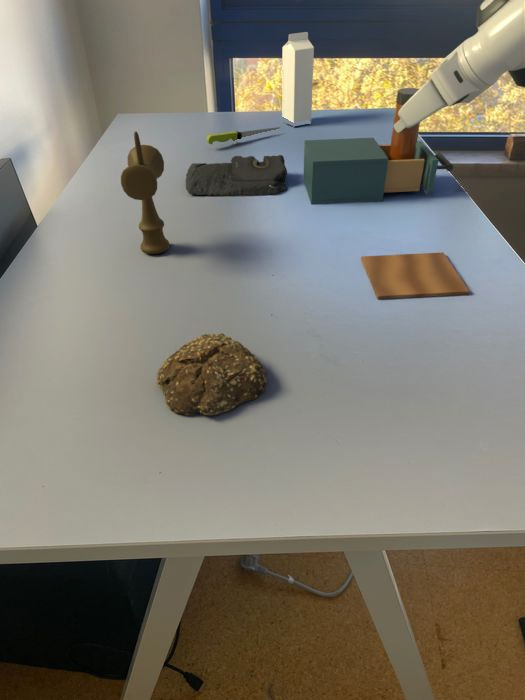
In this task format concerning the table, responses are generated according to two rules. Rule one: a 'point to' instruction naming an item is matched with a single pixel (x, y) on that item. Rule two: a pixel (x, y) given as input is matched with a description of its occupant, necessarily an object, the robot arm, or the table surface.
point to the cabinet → (344, 170)
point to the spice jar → (407, 138)
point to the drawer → (414, 170)
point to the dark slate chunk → (238, 177)
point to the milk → (297, 78)
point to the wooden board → (413, 276)
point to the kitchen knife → (234, 135)
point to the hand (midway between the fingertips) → (403, 124)
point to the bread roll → (210, 376)
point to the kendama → (146, 193)
